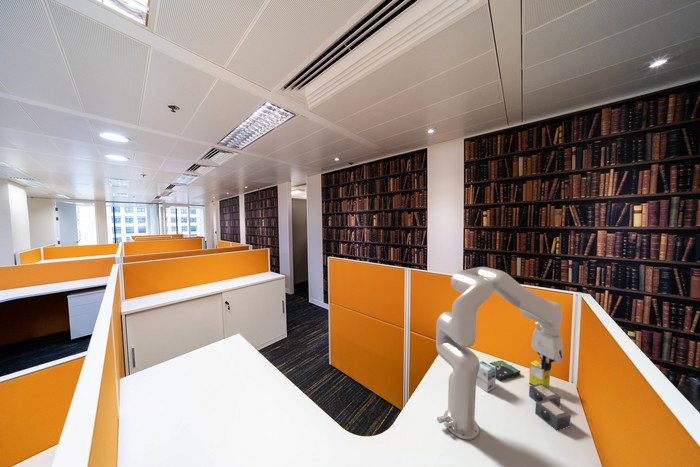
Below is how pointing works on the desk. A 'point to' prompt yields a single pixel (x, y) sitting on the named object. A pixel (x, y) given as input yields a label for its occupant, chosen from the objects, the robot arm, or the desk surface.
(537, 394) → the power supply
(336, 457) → the desk surface
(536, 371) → the supplement box
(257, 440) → the desk surface
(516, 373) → the disk drive
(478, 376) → the light bulb box
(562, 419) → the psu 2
